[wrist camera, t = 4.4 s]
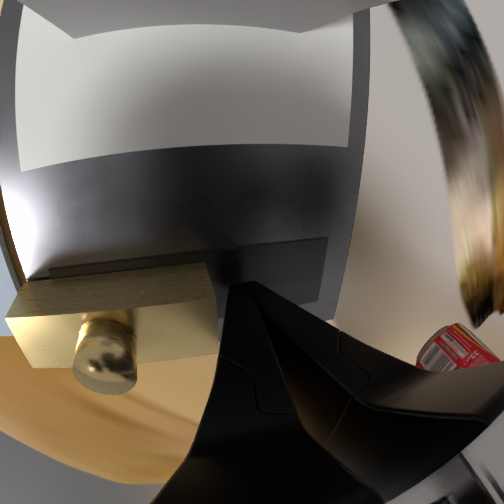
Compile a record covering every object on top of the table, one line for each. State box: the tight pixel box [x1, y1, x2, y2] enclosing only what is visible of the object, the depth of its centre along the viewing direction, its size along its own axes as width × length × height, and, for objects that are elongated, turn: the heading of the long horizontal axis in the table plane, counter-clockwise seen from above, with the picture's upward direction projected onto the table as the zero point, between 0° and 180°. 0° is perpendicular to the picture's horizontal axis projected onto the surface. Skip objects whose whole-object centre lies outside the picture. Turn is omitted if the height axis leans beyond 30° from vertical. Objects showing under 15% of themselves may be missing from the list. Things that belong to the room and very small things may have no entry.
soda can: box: [415, 323, 500, 371], centre depth 19 cm, size 7×7×12 cm
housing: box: [0, 0, 370, 342], centre depth 8 cm, size 16×11×3 cm
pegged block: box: [5, 262, 219, 395], centre depth 7 cm, size 2×6×3 cm, turn 89°
